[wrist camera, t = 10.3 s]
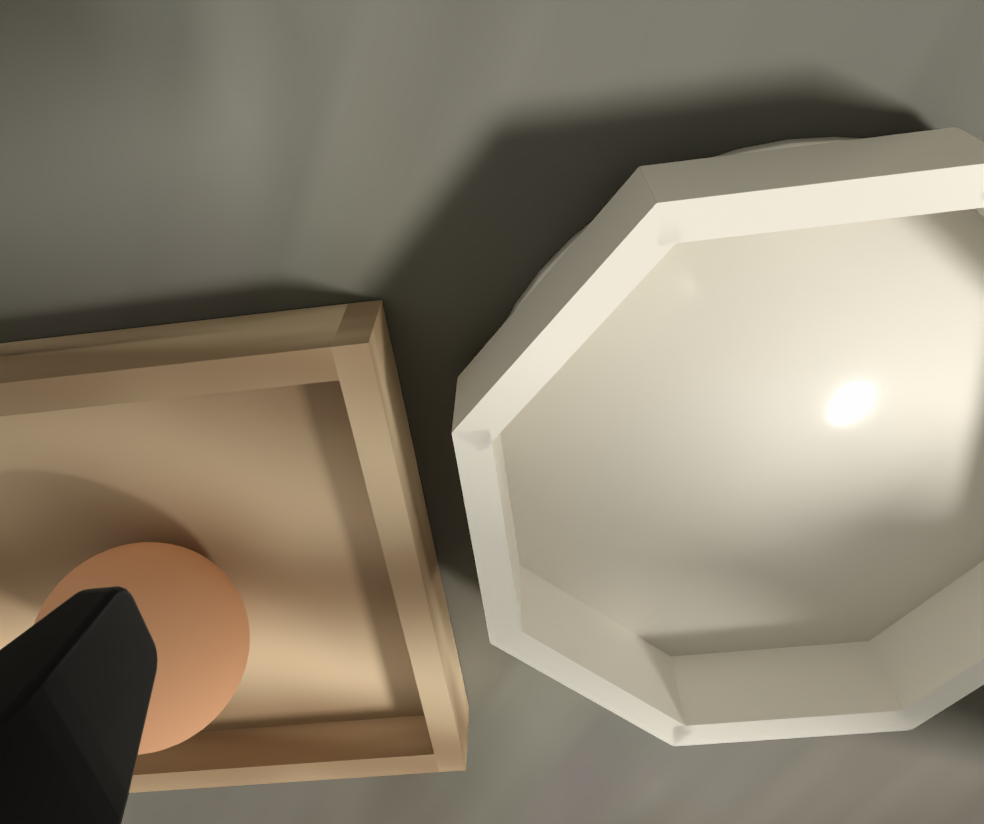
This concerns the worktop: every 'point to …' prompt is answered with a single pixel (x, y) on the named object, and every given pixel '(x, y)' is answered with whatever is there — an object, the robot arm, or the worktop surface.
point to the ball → (175, 631)
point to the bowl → (746, 444)
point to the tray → (248, 527)
